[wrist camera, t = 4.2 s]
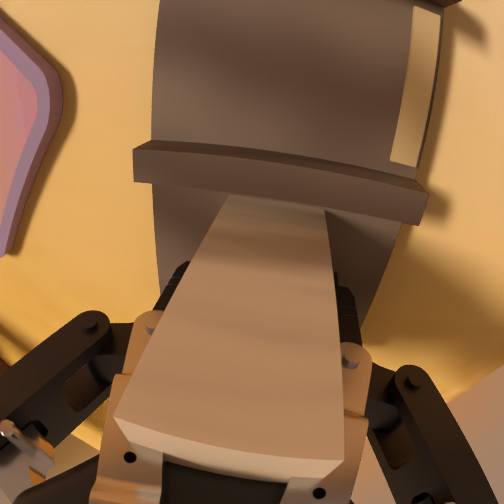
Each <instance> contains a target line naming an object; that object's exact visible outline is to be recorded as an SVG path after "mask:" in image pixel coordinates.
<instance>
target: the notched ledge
mask: <svg viewBox="0 0 504 504" xmlns="http://www.w3.org/2000/svg"><path fill="white" fill-rule="evenodd" d="M460 1H462V0H160V4H159V12H158V21H157V30H156V41H155V53H154V68H153V87H152V121H151V140H150V141H148V142H146V143H144V144H142V145H140V146H138V147H136V148H134V149H133V174H134V182H141V183H151V184H152V193H153V213H154V229H155V242H156V254H157V265H158V275H159V285H160V293H161V294H162V292H163V291H164V289H165V287H166V286H167V285H168V282H169V280H170V279H171V278H172V275H173V274H174V272H175V270H176V268H177V267H178V266H180V265H181V264H183V263H184V262H186V261H192V259H193V257H194V255H195V253H196V252H197V250H198V248H199V246H200V244H201V243H202V241H203V239H204V237H205V236H206V234H207V232H208V230H209V229H210V227H211V225H212V223H213V222H214V220H215V218H216V216H217V215H218V213H219V211H220V209H221V208H222V206H223V204H224V203H225V201H226V199H227V197H228V196H229V195H235V196H242V197H250V198H256V199H263V200H270V201H276V202H283V203H289V204H295V205H301V206H307V207H313V208H319V209H324V212H325V218H326V225H327V232H328V239H329V246H330V253H331V261H332V269H333V272H337V276H338V283H339V286H344V287H348V288H349V290H350V291H351V292H352V294H353V295H354V297H355V302H356V309H357V314H358V315H357V317H358V320H359V327H361V325H362V323H363V321H364V319H365V316H366V314H367V312H368V310H369V307H370V305H371V303H372V300H373V298H374V296H375V293H376V291H377V289H378V286H379V284H380V281H381V279H382V276H383V274H384V271H385V268H386V266H387V263H388V261H389V258H390V255H391V253H392V250H393V247H394V244H395V241H396V239H397V236H398V233H399V230H400V227H401V224H402V223H407V224H412V225H416V226H419V224H420V221H421V219H422V216H423V213H424V210H425V207H426V203H427V200H428V197H429V193H428V192H427V191H426V190H425V189H424V188H423V187H422V186H421V185H420V184H419V183H418V182H417V181H416V180H415V178H416V174H417V171H418V167H419V163H420V159H421V155H422V151H423V147H424V143H425V138H426V134H427V129H428V125H429V120H430V115H431V110H432V104H433V99H434V93H435V87H436V80H437V73H438V66H439V58H440V49H441V39H442V27H443V10H444V7H447V6H449V5H452V4H455V3H457V2H460Z"/></svg>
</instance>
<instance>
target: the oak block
mask: <svg viewBox="0 0 504 504" xmlns="http://www.w3.org/2000/svg"><path fill="white" fill-rule="evenodd" d="M113 418H114V419H115V421H116V422H117V424H118V426H119V427H120V429H121V430H122V432H123V433H124V435H125V436H126V438H127V439H128V441H130V442H133V443H136V444H139V445H142V446H145V447H148V448H151V449H154V450H157V451H161V452H163V454H164V456H165V458H166V460H167V461H168V462H172V463H175V464H179V465H183V466H187V467H191V468H195V469H199V470H203V471H208V472H212V473H217V474H222V475H228V476H233V477H239V478H245V479H252V480H259V481H267V482H276V483H286V482H287V481H288V479H289V478H290V477H291V476H293V477H308V478H324V477H325V476H327V475H328V474H329V473H330V472H331V471H333V470H334V469H335V468H336V467H337V466H338V465H340V464H341V463H342V462H343V461H344V408H343V384H342V365H341V350H340V337H339V325H338V314H337V304H336V295H335V286H334V277H333V269H332V261H331V253H330V246H329V239H328V232H327V225H326V218H325V212H324V209H319V208H313V207H307V206H301V205H295V204H289V203H283V202H276V201H270V200H263V199H256V198H250V197H242V196H235V195H229V196H228V197H227V199H226V201H225V203H224V204H223V206H222V208H221V209H220V211H219V213H218V215H217V216H216V218H215V220H214V222H213V223H212V225H211V227H210V229H209V230H208V232H207V234H206V236H205V237H204V239H203V241H202V243H201V244H200V246H199V248H198V250H197V252H196V253H195V255H194V257H193V259H192V261H191V262H190V264H189V266H188V268H187V270H186V272H185V273H184V275H183V277H182V279H181V281H180V283H179V284H178V286H177V288H176V290H175V292H174V294H173V296H172V298H171V299H170V301H169V303H168V305H167V307H166V309H165V311H164V313H163V315H162V317H161V318H160V320H159V322H158V324H157V326H156V328H155V330H154V332H153V334H152V336H151V338H150V340H149V342H148V344H147V346H146V348H145V350H144V352H143V354H142V356H141V358H140V360H139V362H138V364H137V366H136V368H135V370H134V372H133V374H132V376H131V378H130V380H129V382H128V385H127V387H126V389H125V391H124V393H123V395H122V397H121V399H120V401H119V404H118V406H117V408H116V410H115V412H114V414H113Z"/></svg>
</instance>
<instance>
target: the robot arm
mask: <svg viewBox="0 0 504 504" xmlns="http://www.w3.org/2000/svg"><path fill="white" fill-rule="evenodd" d="M190 262H191V261H186V262H184V263H183V264H181V265H180V266H178V267H177V268H176V270H175V272H174V274H173V275H172V278H171V279H170V280H169V282H168V285H167V286H166V287H165V289H164V291H163V292H162V294H161V296H160V298H159V299H158V301H157V303H156V305H155V306H154V308H153V310H152V311H147V312H145V313H143V314H141V315H140V316H138V317H137V318H136V320H135V321H134V322H133V323H110V321H109V318H108V317H107V315H105V314H104V313H103V312H100V311H95V310H91V311H86V312H83V313H81V314H79V315H78V316H76V317H75V318H74V319H72V320H71V321H70V322H68V323H67V324H66V325H64V326H63V327H62V328H60V329H59V330H58V331H56V332H55V333H54V334H52V335H51V336H50V337H48V338H47V339H46V340H44V341H43V342H42V343H41V344H39V345H38V346H37V347H35V348H34V349H33V350H32V351H30V352H29V353H28V354H26V355H25V356H24V357H23V358H21V359H20V360H19V361H18V362H16V363H15V364H14V365H13V366H11V367H10V368H9V369H8V370H6V371H5V372H4V373H3V374H2V375H0V487H1V488H2V490H3V491H4V492H5V494H6V495H7V497H8V498H9V499H10V501H11V502H12V503H13V504H354V503H353V502H352V500H351V499H350V498H351V495H352V492H353V488H354V485H355V481H356V477H357V473H358V470H359V465H360V461H361V457H362V453H363V449H364V444H365V440H366V435H367V437H368V440H369V442H370V444H371V446H372V449H373V451H374V453H375V455H376V458H377V460H378V462H379V465H380V467H381V469H382V471H383V473H384V476H385V478H386V480H387V483H388V485H389V488H390V490H391V492H392V495H393V497H394V499H395V502H396V504H498V502H497V500H496V497H495V495H494V493H493V491H492V489H491V487H490V484H489V482H488V481H487V478H486V476H485V474H484V472H483V470H482V468H481V466H480V464H479V462H478V460H477V458H476V457H475V455H474V453H473V451H472V449H471V447H470V445H469V443H468V441H467V440H466V438H465V436H464V434H463V432H462V431H461V429H460V427H459V425H458V423H457V422H456V420H455V418H454V417H453V415H452V413H451V411H450V410H449V408H448V406H447V404H446V403H445V401H444V399H443V398H442V396H441V394H440V393H439V391H438V390H437V388H436V386H435V385H434V383H433V381H432V380H431V378H430V377H429V375H428V374H427V373H426V372H425V371H424V370H423V369H422V368H420V367H418V366H415V365H404V366H402V367H400V368H399V369H398V370H397V371H396V372H395V371H392V370H389V369H386V368H384V367H381V366H379V365H377V364H375V363H374V362H372V358H371V356H370V354H369V353H368V351H367V350H366V349H364V348H363V347H362V340H361V333H360V327H359V320H358V317H357V315H358V314H357V309H356V302H355V297H354V295H353V294H352V292H351V291H350V290H349V288H348V287H344V286H339V283H338V276H337V272H333V277H334V286H335V295H336V304H337V314H338V325H339V337H340V350H341V365H342V384H343V408H344V461H343V462H342V463H341V464H340V465H338V466H337V467H336V468H335V469H334V470H333V471H331V472H330V473H329V474H328V475H327V476H325V477H324V478H308V477H293V476H291V477H290V478H289V479H288V481H287V482H286V483H276V482H267V481H259V480H252V479H245V478H239V477H233V476H228V475H222V474H217V473H212V472H208V471H203V470H199V469H195V468H191V467H187V466H183V465H179V464H175V463H172V462H168V461H167V460H166V458H165V456H164V454H163V452H161V451H157V450H154V449H151V448H148V447H145V446H142V445H139V444H136V443H133V442H130V441H128V439H127V438H126V436H125V435H124V433H123V432H122V430H121V429H120V427H119V426H118V424H117V422H116V421H115V419H114V418H113V414H114V412H115V410H116V408H117V406H118V404H119V401H120V399H121V397H122V395H123V393H124V391H125V389H126V387H127V385H128V382H129V380H130V378H131V376H132V374H133V372H134V370H135V368H136V366H137V364H138V362H139V360H140V358H141V356H142V354H143V352H144V350H145V348H146V346H147V344H148V342H149V340H150V338H151V336H152V334H153V332H154V330H155V328H156V326H157V324H158V322H159V320H160V318H161V317H162V315H163V313H164V311H165V309H166V307H167V305H168V303H169V301H170V299H171V298H172V296H173V294H174V292H175V290H176V288H177V286H178V284H179V283H180V281H181V279H182V277H183V275H184V273H185V272H186V270H187V268H188V266H189V264H190ZM83 366H84V367H83ZM82 367H83V368H82ZM76 372H77V373H76ZM75 373H76V374H75ZM69 378H70V379H69ZM68 379H69V380H68ZM109 396H110V397H109ZM108 397H109V402H108V407H107V412H106V418H105V423H104V429H103V435H102V441H101V448H100V454H98V455H96V456H94V457H93V458H91V459H89V460H87V461H85V462H83V463H81V464H79V465H77V466H75V467H73V468H71V469H69V470H67V471H65V472H63V473H61V474H59V475H57V476H55V477H53V478H50V479H48V480H45V479H46V474H47V471H48V470H49V469H51V468H52V467H53V466H54V457H55V454H54V448H55V447H56V446H57V445H58V444H59V443H60V442H61V441H63V440H64V439H65V438H66V437H67V436H68V435H69V434H70V433H71V432H72V431H73V430H74V429H75V428H76V427H77V426H79V425H80V424H81V423H82V422H83V421H84V420H85V419H86V418H87V417H88V416H89V415H90V414H91V413H92V412H93V411H95V410H96V409H97V408H98V407H99V406H100V405H101V404H102V403H103V402H104V401H105V400H106V399H107V398H108Z"/></svg>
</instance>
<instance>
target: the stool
mask: <svg viewBox="0 0 504 504" xmlns="http://www.w3.org/2000/svg"><path fill="white" fill-rule="evenodd" d="M8 369H9V367H8V366H7V364H6V363H5V362H4V361H3V360H2V359H1V358H0V375H2V374H3V373H4V372H5V371H6V370H8Z"/></svg>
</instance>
